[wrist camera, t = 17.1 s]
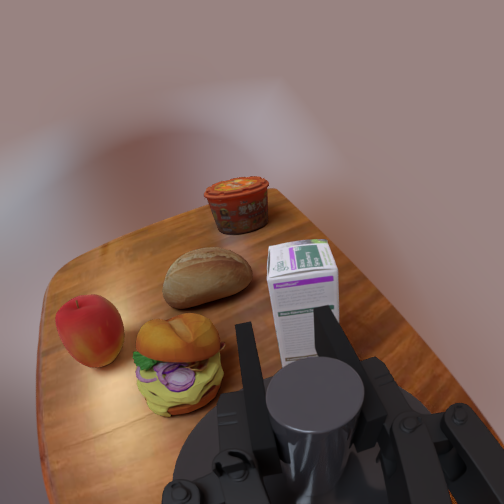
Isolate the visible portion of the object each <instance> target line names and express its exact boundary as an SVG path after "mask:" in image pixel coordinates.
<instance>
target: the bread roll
mask: <svg viewBox="0 0 504 504" xmlns="http://www.w3.org/2000/svg"><path fill="white" fill-rule="evenodd" d="M251 279H252V269H251V267H250V265H249V264H248V262H247V261H246V260H245V259H244V258H243V257H241V256H240V255H238V254H236V253H234V252H233V251H231V250H227V249H223V248H218V247H208V248H202V249H197V250H193V251H190V252H188V253H186V254H184V255H182V256H181V257H179V258H178V259H177V260H176V261H175V262H174V263H173V264H172V265H171V267H170V268H169V270H168V272H167V275H166V278H165V281H164V284H163V291H162V292H163V297H164V299H165V301H166V302H167V303H168V304H169V305H170V306H171V307H173V308H178V309H184V308H189V307H193V306H197V305H200V304H203V303H206V302H210V301H213V300H217V299H220V298H224V297H227V296H230V295H233V294H236V293H238V292H239V291H241V290H243V289H244V288H245V287H246V286H248V284H249V283H250V281H251Z"/></svg>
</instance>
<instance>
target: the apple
mask: <svg viewBox="0 0 504 504" xmlns="http://www.w3.org/2000/svg"><path fill="white" fill-rule="evenodd" d="M55 320H56V327H57V331H58V334H59V336H60V339H61V341H62V342H63V344H64V346H65V348H66V349H67V350H68V352H69V353H70V354H71V355H72V357H73V358H74V359H76V360H77V361H78V362H80V363H81V364H83V365H85V366H88V367H101V366H105V365H108V364H110V363H111V362H112V361H113V360H114V359H115V358H116V357H117V355H118V354H119V352H120V350H121V348H122V346H123V343H124V337H125V332H124V326H123V322H122V319H121V316H120V314H119V312H118V310H117V309H116V307H115V306H114V305H113V304H112V303H111V302H110V301H108V300H107V299H106V298H104V297H102V296H99V295H81V296H78V297H75V298H73V299H71V300H69V301H68V302H67V303H65V304H64V305H63V306H62V307H61V308H60V309H59V310H58V312H57V314H56V318H55Z"/></svg>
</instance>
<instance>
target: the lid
mask: <svg viewBox="0 0 504 504" xmlns="http://www.w3.org/2000/svg"><path fill="white" fill-rule="evenodd" d="M263 382H264V387H265V391H266V397H265V400H266V406H267V410H268V415H269V419H270V423H271V426H272V429H273V433H274V437H275V441H276V446H277V450H278V454H279V458H280V463H281V467H282V472H283V473H281V474H275V475H270V476H264V477H263V479H264V485H265V487H266V490H267V492H268V495H269V497H270V500H271V503H272V504H389V501H388V496H387V491H386V486H385V481H384V476H383V471H382V467H381V462H380V461H379V463H376V457H377V455H378V453H379V451H380V447H379V445H378V442H376V445H375V447H373V448H370V449H367V450H364V451H362V452H359V453H357V451H356V449H355V446H354V444H353V441H354V437H355V434H356V430H357V426H358V422H359V418H360V414H361V410H362V406H363V401H364V395H365V392H364V385H363V382H362V380H361V378H360V376H359V375H358V373H357V372H356V371H355V370H354V369H353V368H352V367H351V366H349V365H348V364H346V363H344V362H343V361H340V360H338V359H334V358H330V357H321V356H320V357H307V358H303V359H299V360H296V361H294V362H291V363H289V364H287V365H286V366H284V367H283V368H282V369H280V370H279V371H278V372H277V373H276V374H275V375H274V376H272V377H269V378H266V379H263ZM398 387H399V386H398ZM399 388H400V390H401V392H402V393H403V395H404V397H405V399H406V400H407V402H408V404H409V405H410V407H411V408H412V409H413V410H414V411H416V412H418V413H420V414H431V413H430V412H429V411H428V410H427V408H426V407H425V406H424V405H423V404H422V403H421V402H420V401H419V400H417V399H416V398H415V397H414V396H412V395H411V394H410V393H408V392H407V391H405V390H404V389H402V388H401V387H399ZM242 390H243V389H241V390H239V391H242ZM219 452H220V451H219V437H218V421H217V405H216V406H215V407H214V408H213V409H212V410H211V411H209V412H208V413H207V414H206V415H205V416H204V417H203V418H202V420H201V421H200V422H199V423H198V424H197V425H196V426H195V428H194V429H193V430H192V432H191V433H190V434H189V436H188V438H187V440H186V441H185V443H184V445H183V447H182V449H181V451H180V454H179V456H178V458H177V461H176V465H175V469H174V473H173V480H176V479H186V480H190V481H192V480H195V479H197V478H200V477H203V476H206V475H207V474H209V473H211V472H212V461H213V459H214V457H215V456H216V455H217V454H218V453H219Z"/></svg>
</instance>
